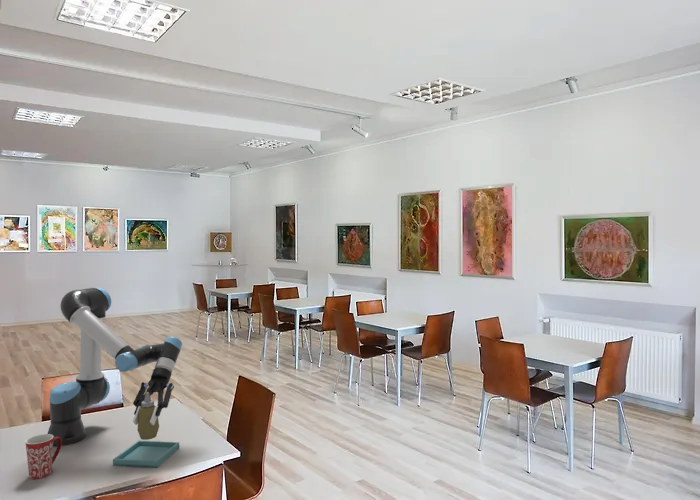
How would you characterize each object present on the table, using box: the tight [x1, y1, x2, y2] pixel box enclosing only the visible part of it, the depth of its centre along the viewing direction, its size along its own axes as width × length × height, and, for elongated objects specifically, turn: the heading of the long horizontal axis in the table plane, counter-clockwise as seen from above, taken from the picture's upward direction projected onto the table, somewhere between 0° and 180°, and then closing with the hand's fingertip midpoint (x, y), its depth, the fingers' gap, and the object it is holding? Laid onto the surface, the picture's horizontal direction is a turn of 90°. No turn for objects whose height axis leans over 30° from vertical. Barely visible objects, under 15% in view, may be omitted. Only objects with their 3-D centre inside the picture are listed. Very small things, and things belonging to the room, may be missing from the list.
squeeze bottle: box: [137, 391, 160, 441], centre depth 199 cm, size 8×8×18 cm
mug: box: [24, 433, 63, 480], centre depth 187 cm, size 13×9×14 cm
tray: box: [112, 440, 180, 469], centre depth 200 cm, size 18×18×2 cm
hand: (143, 423), depth 196 cm, fingers closed on squeeze bottle, 6 cm apart
